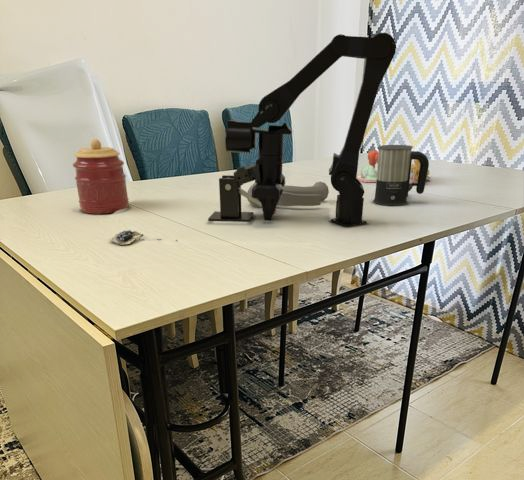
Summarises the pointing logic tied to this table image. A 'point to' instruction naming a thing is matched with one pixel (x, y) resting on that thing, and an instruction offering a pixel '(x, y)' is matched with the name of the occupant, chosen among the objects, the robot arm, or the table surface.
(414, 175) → the candy landscape model
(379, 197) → the milk frother
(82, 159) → the kitchen canister
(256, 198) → the tap lever
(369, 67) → the robot arm
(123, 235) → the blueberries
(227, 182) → the bracket
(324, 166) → the table surface
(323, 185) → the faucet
